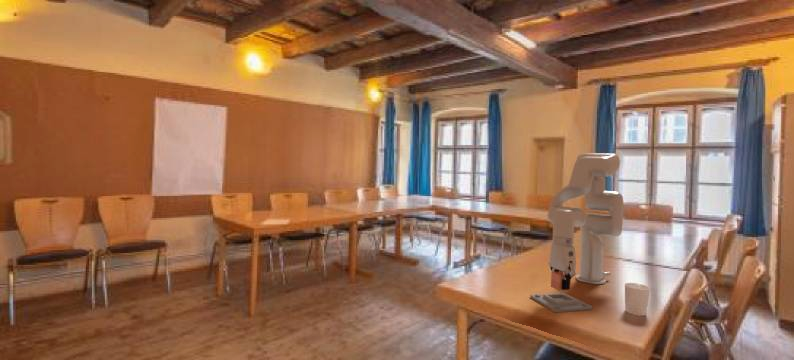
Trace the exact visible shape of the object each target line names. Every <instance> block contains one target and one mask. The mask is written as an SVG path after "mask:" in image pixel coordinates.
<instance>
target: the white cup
mask: <svg viewBox="0 0 794 360" xmlns="http://www.w3.org/2000/svg"><path fill="white" fill-rule="evenodd" d="M650 289H651V288H650V287H649V286H648V285H645V284H642V283H637V282H626V283H624V304H625V305H624V310H625V312H626V313H628V314H630V315H632V316H637V317H638V316H639V317H643V316H646V315H647V313H648V306H649V297H650Z"/></svg>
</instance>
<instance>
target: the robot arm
mask: <svg viewBox="0 0 794 360" xmlns="http://www.w3.org/2000/svg"><path fill="white" fill-rule="evenodd" d="M620 164H621V160H620V157H619V155H618V154H616V153H610V152H609V153H605V152H604V153H603V152H602V153H598V152H595V153H594V152H590V153H589V152H588V153H581V154H579V155H578V156H577V158H576V160H575V162H574V164H573V169H572V172H571V174H570V179H569V181H568V184H567V185H566V186H564V187H563V188H561V189H560V190H559V191H558V192H556V193H555V195H554V196H553V198H552V200H551V202H550V204H549V208H548V213H547V218H548V222H550V223H551V224H552V242H551V248H550V252H549V253H550V254H549V255H550V256H549V262H548V266H549V268H550V270H551V273H552V272H557V271H562V273H563V279H562V290H565V291H570V290H571V285H570V280H571V281H572V278H573V277H574V276H575V279H576V280H577V281H578V282H582V283H585V284H592V285H603V284H605V283H606V281H607V280H606V279H605V277H610V276H611V275H612V274H611V272H610V271H603V268H604V267H603V265H604V264H603V263H604V247H605V246H604V242H603V239H602V238H601V237H600V236H606V237H620V235H621V234H622V233H623V232H622V231H623V225H624V222H623V221H624V198H623V195H622V194H621V192H618V191H611V190H606V178H608V177H612V175H614V174H615V173H616V172H618V170H619V168H620ZM581 196H583V197H584V199H583V201H584V202H583V203H584V207H585V209H586V210H589V211H595V212H596V211H597V212H606V213H609V214H604V213H594V212H588V213H586V211H585V210H584V209H582V208H579V207H571V206H562V205H563V204H564V203H565V202H567V201H569V200H572V199H576V198H579V197H581ZM575 228H580V256H579V258H580V260H579V261H580V262H579V263H580V264H579V273H578V274H577V272H576V268H577V267H576V266H577V260H576V259H577V257H576V256H577V255H576V247H575V246H574V241H575V240H574V237H575ZM566 273H568V274H567V275H566ZM569 289H570V290H569Z"/></svg>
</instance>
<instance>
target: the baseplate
mask: <svg viewBox="0 0 794 360" xmlns="http://www.w3.org/2000/svg"><path fill="white" fill-rule="evenodd" d="M529 297H530V299H532V300H534V301H535V302H537V303H539V304H541V305H542V306H544V307H545V308H547V309H549V310H550V311H552V312H554V313H564V312H565V313H567V312H574V311H585V310H588V311H589V310H593V306H592V305H590V304H588V303H587V302H584V301H582V300H580V299H578V298H576V297H574V296H572V295H569V294H568V293H567V292H564V291H560V292H553V293H551V292H550V293H540V294H539V293H535V294H530V296H529Z"/></svg>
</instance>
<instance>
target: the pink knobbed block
mask: <svg viewBox="0 0 794 360" xmlns="http://www.w3.org/2000/svg"><path fill="white" fill-rule="evenodd" d="M567 274H568V273H566V275H567ZM550 277H551V279H550V287H551V288H553V289H554V290H556V291H558V292H564V291H566V290H562V279H563V273H562V271H557V272H552V271H551V276H550ZM571 284H572V279H571V280H570V286H571ZM568 291H571V288H570V289H569V290H568Z"/></svg>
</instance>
